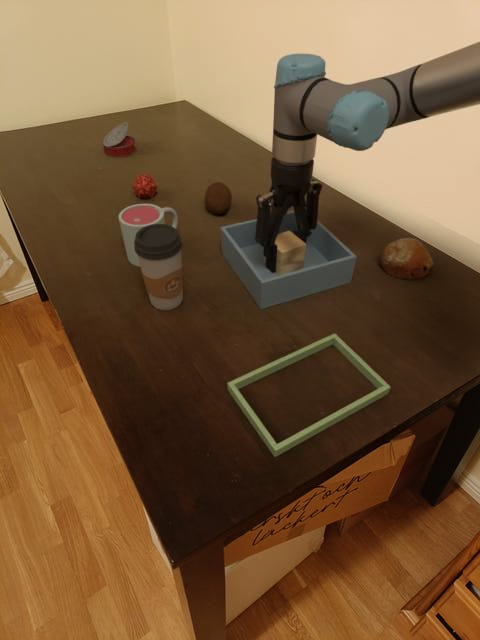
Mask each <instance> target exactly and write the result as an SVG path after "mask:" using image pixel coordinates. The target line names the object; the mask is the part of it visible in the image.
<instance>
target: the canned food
mask: <svg viewBox="0 0 480 640" xmlns="http://www.w3.org/2000/svg"><path fill="white" fill-rule="evenodd" d="M129 127H130V123H129V121H124V122H122V123H120V124H118V125H117V126H115V127H114V128H112V130H110V131H109V132H108V133H107V134H106V135H105V136H104V139H103V140H102V146H103V150H104V154H105V156H108V157H111V158H125V157H128V156H132V155H133V154H135V153H136V151H137V148H136V141H135V140H136V139H135V138H134V137H132V136H129V135H127V134H128V131H129Z"/></svg>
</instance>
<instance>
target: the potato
mask: <svg viewBox="0 0 480 640" xmlns="http://www.w3.org/2000/svg"><path fill="white" fill-rule="evenodd" d="M232 200H233V195H232V191H231V189H230V188H229V186H228V185H226V184H225V183H223V182H218V181H215V182H213V183H211V184H209V185H208V186H207V188H206V190H205V193H204V203H205V206H206V208H207V210H208V211H209V212H211V213H212V214H214V215H223V214H224V213H226V212H227V211H228V209H230V206H231V204H232Z"/></svg>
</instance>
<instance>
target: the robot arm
mask: <svg viewBox="0 0 480 640" xmlns="http://www.w3.org/2000/svg"><path fill="white" fill-rule="evenodd" d="M275 71H276V72H275V81H274V85H273V89H274V97H273V123H272V146H271V155H272V158H271V159H270V160H271V161H270V163H271V164H270V179H271V185H270V188H269V190H268V192H267V193H266V194H264V195H262V194H258V195H257V196H256V197H255V200H256V204H257V215H256V219H257V224H256V235H255V240H256V241H257V242H258V243H259V244H260V245H261V246H262V247H264V253H263V254H264V256H265V257H266V267H267V268H268V269H269V270H270V271H271V272H272V273H274V272H276V260H277V245H276V244H275V240H276V237H277V234H278V231H279V229H280V226H281V223H282V220H283V217H284V215H286V214H287V212H289V211H288V210H289V209H290V208H293V211H294V213H295V218H296V222H297V227H298V229H299V231H298V230H296V231H294V235H296V236H297V237H298V238H299V239H301V240H302V241H303V242H304V243H306V241H307V236H310V235H311V234H312V232H311V231H310V230H311V229H313V230H314V229H315V228H316V227H317V220H318V216H319V202H320V194H321V192H322V188H323V184H322V183H320V182H319V181H317V180H316V179H314V178H313V175H314V165H315V160H314V159H315V157H316V151H317V150H316V149H317V141H318V136H320V137H321V138H324V139H326V140H328V141H330V142H332V143H334V144H336V145H338V146H339V147H342V148H346V149H350V150H353V151H356V152H364V151H367V150H369V149H371V148H372V147H373V145H374V143H377V142H378V141H379V140H380V139H381V138H382V136H383V135H384V133H385V131H386V130H388V129H391V128H395V127H399V126H402V125H405V124H410V123H413V122H417V121H420V120H425V119H428V118H431V117H435V116H438V115H443V114H446V113H450V112H454V111H455V112H456V111H458V110H462V109H466V108H470V107H475V106H478V105H480V41H477V42H474V43H472V44H469V45H467V46H465V47H462V48H459V49H457V50H454V51H452V52H449V53H446V54H444V55H441V56H438V57H436V58H433V59H431V60H429V61H425V62H422V63H420V64H417V65H414V66H411V67H409V68H406V69H403V70H401V71H398V72H395V73H391V74H388V75H384V76H382V77H381V76H380V77H375V78H371V79H367V80H362V81H359V82H355V83H354V82H353V83H350V84H346V83H342V82H338V81H334V80H332V79H329V78H327V77H325V76H326V74H327V71H326V61H325V59H324V58H323V57H321V56H320V55H318V54H313V53H291V54H287V55H284V56H282V57H281V58H279V60H278V61H277V63H276V70H275ZM305 209H306V210H305Z"/></svg>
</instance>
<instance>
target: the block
mask: <svg viewBox="0 0 480 640" xmlns="http://www.w3.org/2000/svg"><path fill="white" fill-rule="evenodd" d="M275 244H276V245H277V260H276V273H277V274H278V275H282V274H286V273H290V272H293V271H297V270H299V269H302V268H303V267H304V259H305V251H306V243H304V242H303V241H302V240H301V239H299V238H298V237H297V236H296V235H294V234H293V233H292V232H291V231H286V232H283V233H280V234H277V237H276V240H275ZM265 263H266V257H265Z"/></svg>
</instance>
